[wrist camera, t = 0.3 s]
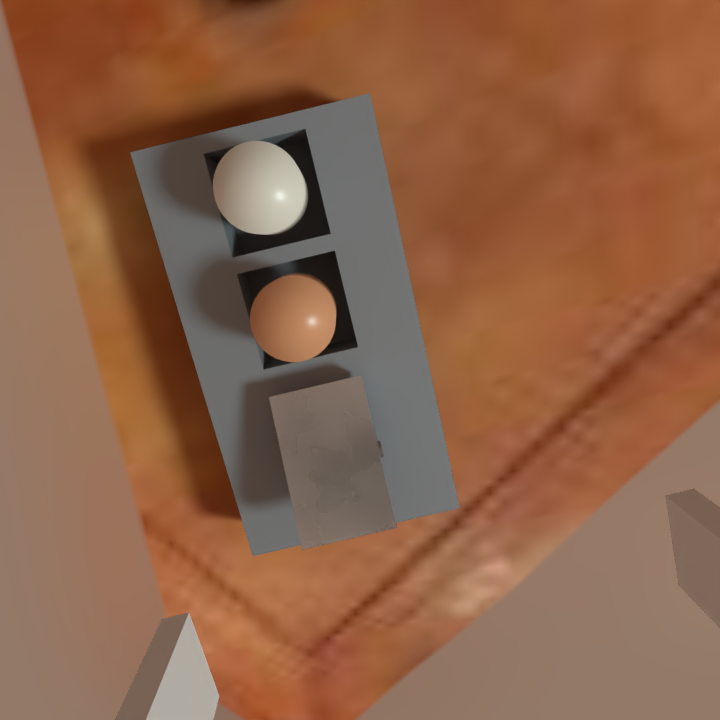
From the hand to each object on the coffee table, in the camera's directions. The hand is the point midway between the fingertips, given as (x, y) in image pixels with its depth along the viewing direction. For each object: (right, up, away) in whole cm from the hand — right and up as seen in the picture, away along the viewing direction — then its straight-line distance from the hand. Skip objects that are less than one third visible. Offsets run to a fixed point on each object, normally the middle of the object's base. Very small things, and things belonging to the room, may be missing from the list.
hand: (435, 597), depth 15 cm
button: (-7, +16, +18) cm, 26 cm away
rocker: (-4, 0, +19) cm, 20 cm away
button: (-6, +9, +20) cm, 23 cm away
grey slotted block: (-5, +8, +24) cm, 26 cm away
